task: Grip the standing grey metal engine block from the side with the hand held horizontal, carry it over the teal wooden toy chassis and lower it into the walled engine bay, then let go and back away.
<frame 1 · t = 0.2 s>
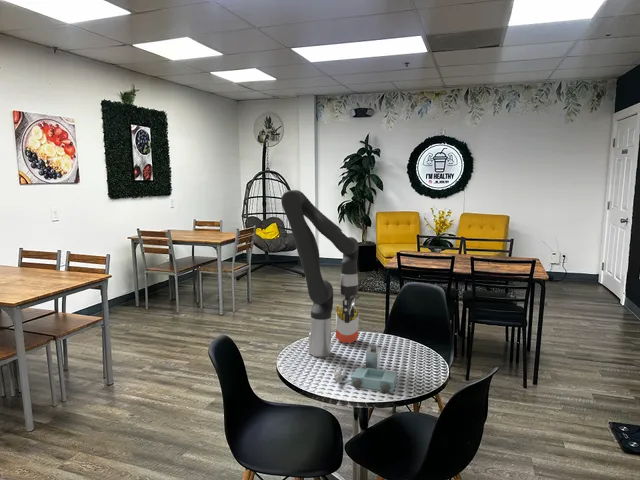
hand: (349, 319, 190), 17 cm above the table, tool pointing down, fingers open, 8 cm apart
chassis: (374, 382, 168), on the table
french fries container: (346, 341, 212), on the table
soldier figure: (340, 380, 171), on the table
engine block: (372, 370, 179), on the table
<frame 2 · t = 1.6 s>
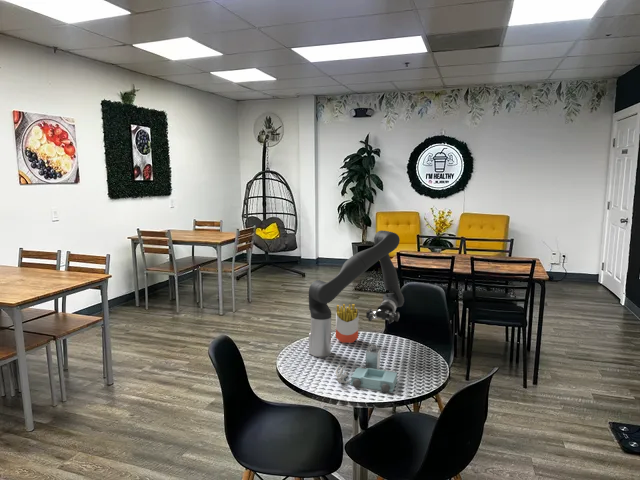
hand: (379, 320, 187), 18 cm above the table, tool horizontal, fingers open, 8 cm apart
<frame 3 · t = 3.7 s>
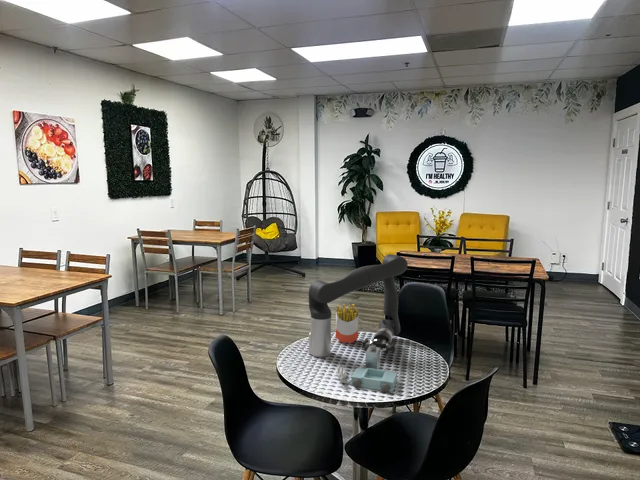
hand: (376, 351, 184), 6 cm above the table, tool horizontal, fingers open, 8 cm apart
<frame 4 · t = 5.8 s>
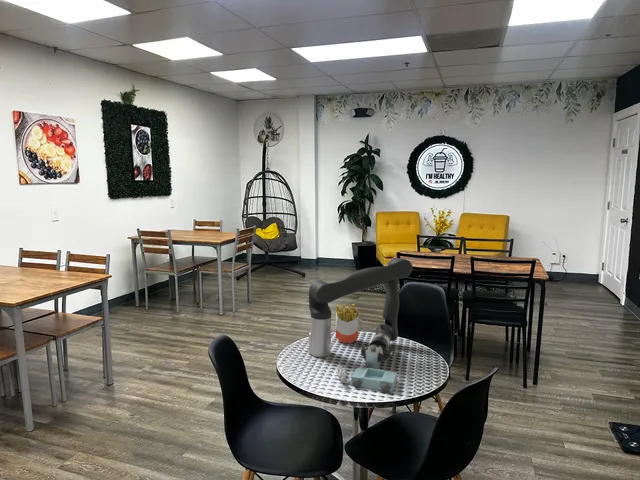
hand: (371, 358, 176), 6 cm above the table, tool horizontal, fingers closed on engine block, 4 cm apart
engine block: (372, 370, 179), on the table, touching gripper
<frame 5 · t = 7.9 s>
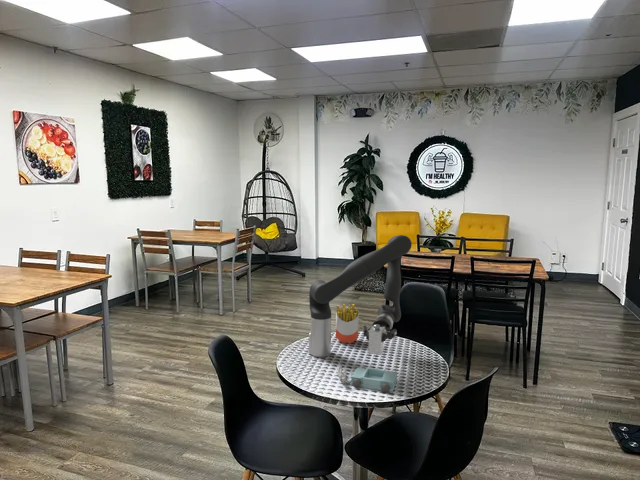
hand: (375, 338, 166), 18 cm above the table, tool horizontal, fingers closed on engine block, 4 cm apart
engine block: (376, 351, 169), point 12 cm above the table, touching gripper
when the fingers open (8 cm above the table, at t = 10.3 s): engine block drops 1 cm, resting on chassis.
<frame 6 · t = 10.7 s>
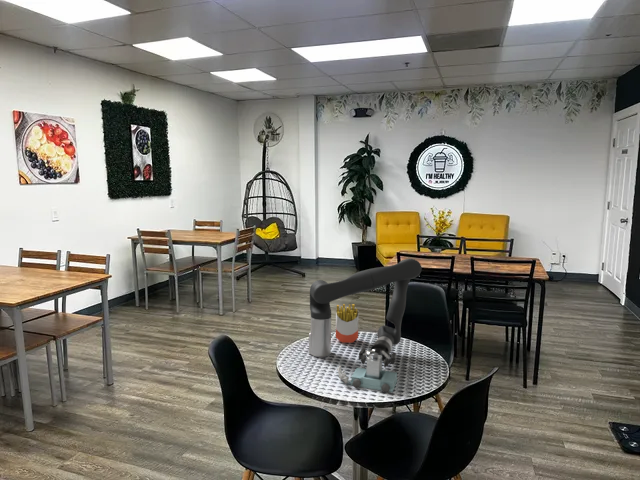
hand: (373, 363, 165), 9 cm above the table, tool horizontal, fingers open, 8 cm apart
engine block: (374, 379, 168), point 1 cm above the table, touching chassis
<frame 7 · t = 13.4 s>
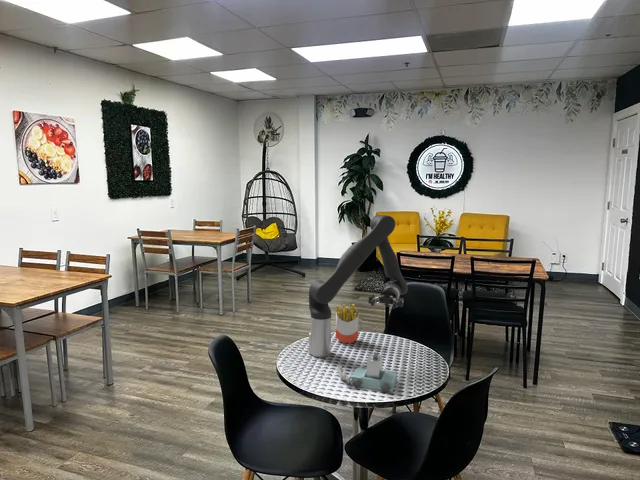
hand: (382, 305, 177), 28 cm above the table, tool horizontal, fingers open, 8 cm apart
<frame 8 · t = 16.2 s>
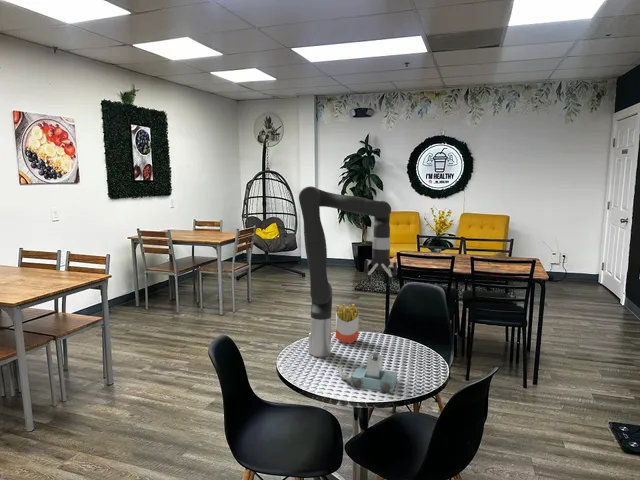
hand: (380, 284, 189), 33 cm above the table, tool pointing down, fingers open, 8 cm apart
at the end: engine block 0.2 cm off-centre on the chassis, point 1.2 cm above the chassis's base; engine block tilted 0°; the gripper is holding nothing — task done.
